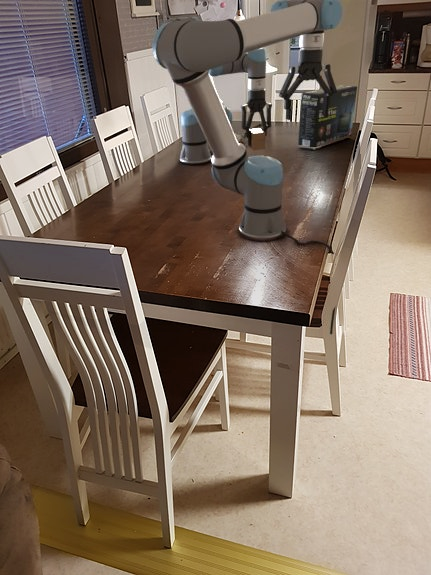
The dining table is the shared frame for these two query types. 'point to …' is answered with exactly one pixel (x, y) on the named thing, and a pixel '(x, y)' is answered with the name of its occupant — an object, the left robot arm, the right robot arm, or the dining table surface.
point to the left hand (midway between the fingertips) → (256, 144)
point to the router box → (337, 121)
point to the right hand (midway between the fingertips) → (306, 117)
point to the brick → (257, 139)
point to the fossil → (239, 136)
